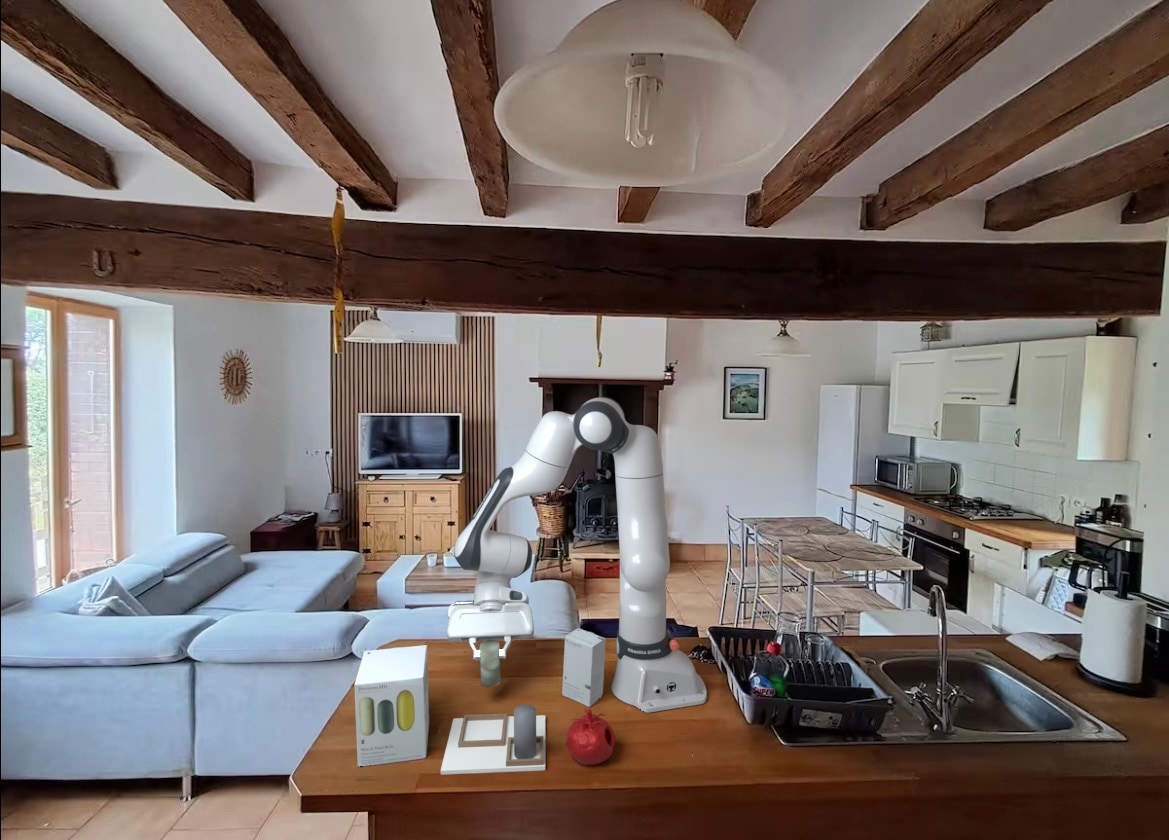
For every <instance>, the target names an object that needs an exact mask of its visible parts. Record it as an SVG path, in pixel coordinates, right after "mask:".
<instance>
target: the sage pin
mask: <svg viewBox="0 0 1169 840" xmlns="http://www.w3.org/2000/svg"><path fill="white" fill-rule="evenodd" d="M499 649H500V642H499V641H498V640H486V641H482V642H481V643H480V644H479V650H480V660H479V661H480V663H479V664H480V684H481V686H483V688H494V687H495V688H496V687H497V686H498V685H500V683H501V659H499V654H500V653H499Z"/></svg>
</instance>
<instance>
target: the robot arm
mask: <svg viewBox="0 0 1169 840" xmlns="http://www.w3.org/2000/svg"><path fill="white" fill-rule="evenodd" d="M582 445H583V446H584V447H586V448H588V449H591V450H595V451H599V452H604V453H608V454H610V455H611V454H612V456H613V460H614V461H613V462H614V473H615V475H614V476H615V489H616V490H615V491H616V493H615V495H616V508H617V525H618V529H617V530H618V544H619V546H618V547H619V603H618V604H619V607H618V608H619V609H618V610H619V612H618V613H619V615H618V630H617V631H616V632H617V634H616V635H617V636H616V648H615V649H616V654H617V659H616V667H615V672H614V675H613V680H612V683H611V688H610V689H611V691H612V693H613V695H614V696H615V697H616V698H617V699H619V700H620V701H622V702H623V703H625V704H628V705H631V706H634V707H636V708H638V709H639V710H640V709H641V710H640V711H642V712H643V711H644V712H643V713H648V714H649V713H653V712H654V713H655V712H661V711H667V710H672V709H673V710H674V709H679V708H684V707H685V708H686V707H692V706H697V705H703V704H705V703H706V701H707V698H708V694H707V693H708V692H707V688H706V684H705V682H704V680H703V679H702V677H701V676H700V675H699V674H698V673H697V672H696V667H695V666H694V664H693V662H692V660H691V659H690V658H689V656H688V655H687V654H686V653H684V652H683V651H681V650H680V644H679V643H678V641H677V640H676V639H675V638H674V635H673V634H672V633H671V631H670V630H669V629H668V628H667V585H666V581H667V578H668V575H669V573H670V572H669V571H670V566H671V565H670V564H671V562H670V561H671V560H670V559H671V558H670V547H669V546H670V545H669V537H668V535H669V534H668V524H667V523H668V522H667V512H666V501H665V500H666V495H665V479H664V478H665V477H664V464H663V462H664V461H663V456H662V450H661V445H660V441H659V438H658V434H657V433H656V431H655V430H654V429H653V428H651V427H649V426H646V425H642V424H631V423H629V422H628V421H626V414H625V411H624V409H623V407H622V406H621V404H620V403H619V402H618V401H616V400H615V399H613V398H610V397H607V396H600V397H599V396H598V397H595V398H591V399H589V400H587V401H586V402H584V403H583V404H582V405H581V406H580V407H579V408H578V410H576V411H575V412H574V414H569V413H567V412H563V411H560V410H559V411H558V410H555V411H554V410H553V411H549V412H547V413H545V414H544V415H543V416H542V417H541V419H540V420H539V421H538V423H537V424H536V426H535V428H534V430H533V432H532V434H531V436H530V438H529V440H528V442H527V445H526V447H525V449H524V451H523V453H522V455H521V456H520V458H519V459H518V460H517V461H516V462H515V463H514V464H512V465H511V466H509V467H506V468H504V469H502V470H501V472H500V473H499V474H498V475H497V477H495V480H494V481H493V483H492V484H491V486H490V488H489V489H488V491H487V492H486V494H485V496H484V497H483V499H482V500H481V503H480V504H479V506H478V507H477V508H476V511H475V512H474V514H473V515H472V517H471V519H470V520H469V522H468V523H467V524H466V526H465V527H464V528H463V529H462V530H461V532H460V534H459V535H458V537H457V538H456V541H455V545H454V547H453V548H454V550H453V556H454V559H455V561H456V562H457V563H458V565H459V566H460V567H461V569H463V570H464V571H473V572H475V575H476V581H475V584H474V593H473V600H457V601H455V602H454V603H451V604H450V605H449V606H448V609H447V617H448V623H447V627H446V637H447V639H448V640H449V641H450V642H451V643H459V642H460V643H461V642H469V646H470V647H471V649H472V652H473V661H480V649H478V650H477V649H476V647H475V646H477V642H480V641H482V642H484V641H487V640H495V641H502V640H503V641H504V646H503V648H502V649H500V648H499V653H500V654H499V659H500V660H506V659H507V652H508V650H509V648H510V646H511V645H512V640H523V639H524V640H529V639H532V638H533V636H534V635H535V624H534V618H533V612H532V609H531V606H530V605H529V603H530V599H529V596H528V594H527V593H526V592H524V591H521V590H517V589H514V588H512V586H511V580H512V579H516V578H518V577H519V576H521V575H523V574H524V573H525V572H527V571H528V570H529V569H530V568H531V565H532V561H533V549H532V545H531V544H530V541H529V540H528V539H527V538H526V537H525V536H521V535H518V534H513V533H507V532H500V531H496V530H491V528H492V525H494V523H495V520H497V518H498V516H499V515H500V513H501V511H502V509H503V508H504V506H505V505H507V503H510V502H511V501H513V500H516V499H520V498H524V497H530V496H540V495H545V494H548V493H550V492H552V491H554V490H556V489H557V488H559V486H561V484H562V482H563V481H564V479H565V477H566V475H567V473H568V471H569V468H570V465H571V463H572V460H573V458H574V455H575V454H576V452H577V450H578V449H579V448H580V447H581V446H582Z"/></svg>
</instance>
